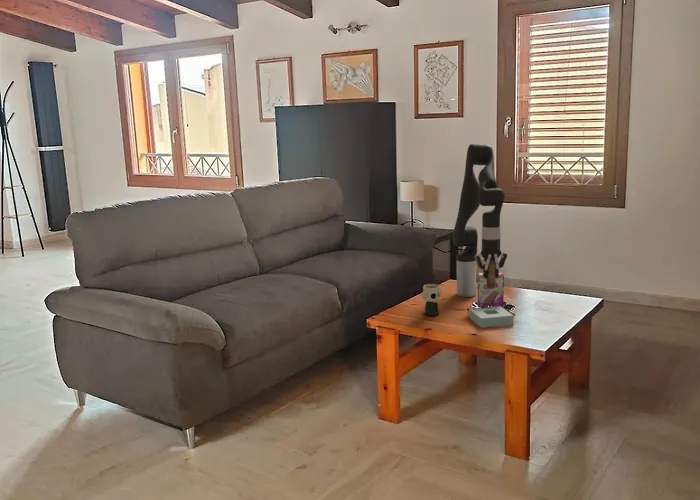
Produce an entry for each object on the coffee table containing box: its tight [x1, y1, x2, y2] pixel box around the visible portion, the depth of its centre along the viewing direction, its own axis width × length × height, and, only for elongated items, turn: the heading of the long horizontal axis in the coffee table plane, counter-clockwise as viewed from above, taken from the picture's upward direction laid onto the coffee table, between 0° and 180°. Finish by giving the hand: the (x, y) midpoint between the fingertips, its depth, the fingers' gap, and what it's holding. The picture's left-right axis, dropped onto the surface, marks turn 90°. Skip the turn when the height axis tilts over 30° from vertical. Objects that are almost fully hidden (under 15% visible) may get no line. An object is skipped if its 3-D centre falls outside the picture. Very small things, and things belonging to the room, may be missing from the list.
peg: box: [487, 260, 495, 289], centre depth 271 cm, size 4×4×12 cm
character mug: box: [421, 283, 442, 316], centre depth 286 cm, size 11×7×13 cm, turn 127°
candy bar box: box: [476, 272, 505, 308], centre depth 290 cm, size 11×5×16 cm, turn 84°
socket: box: [468, 306, 515, 329], centre depth 274 cm, size 14×14×4 cm
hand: (490, 277), depth 271 cm, fingers closed on peg, 3 cm apart
